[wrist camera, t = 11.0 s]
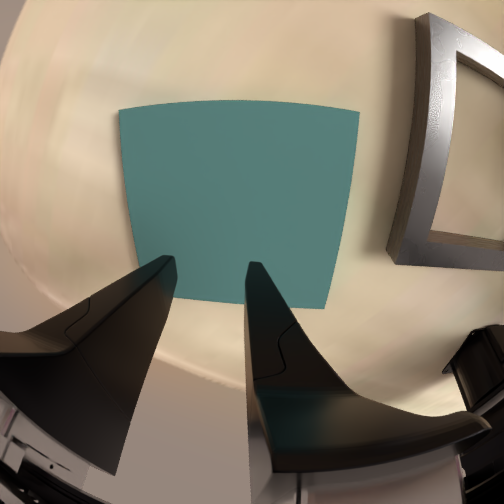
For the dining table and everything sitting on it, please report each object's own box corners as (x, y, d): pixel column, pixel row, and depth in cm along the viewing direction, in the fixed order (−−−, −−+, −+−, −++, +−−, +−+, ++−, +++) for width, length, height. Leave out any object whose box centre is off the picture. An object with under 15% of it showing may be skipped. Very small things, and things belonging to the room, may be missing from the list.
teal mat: (322, 302, 16) (324, 309, 16) (149, 288, 17) (146, 293, 16) (355, 111, 10) (359, 112, 10) (124, 109, 11) (118, 110, 10)
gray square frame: (513, 261, 13) (523, 272, 12) (385, 249, 14) (394, 264, 13) (548, 104, 6) (562, 108, 5) (414, 18, 7) (428, 12, 6)
